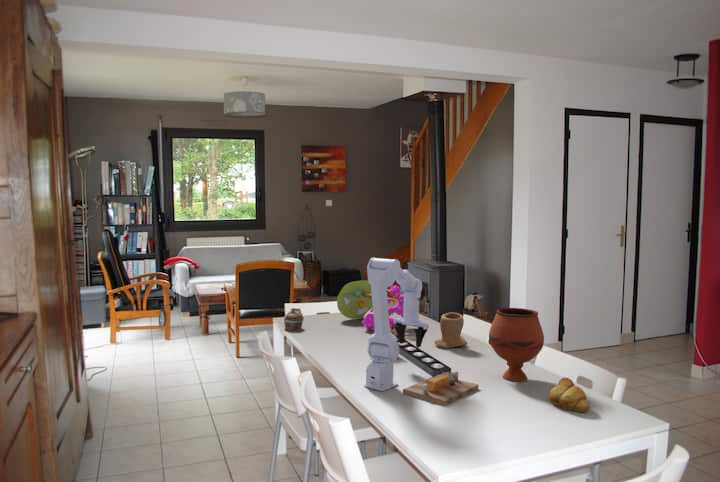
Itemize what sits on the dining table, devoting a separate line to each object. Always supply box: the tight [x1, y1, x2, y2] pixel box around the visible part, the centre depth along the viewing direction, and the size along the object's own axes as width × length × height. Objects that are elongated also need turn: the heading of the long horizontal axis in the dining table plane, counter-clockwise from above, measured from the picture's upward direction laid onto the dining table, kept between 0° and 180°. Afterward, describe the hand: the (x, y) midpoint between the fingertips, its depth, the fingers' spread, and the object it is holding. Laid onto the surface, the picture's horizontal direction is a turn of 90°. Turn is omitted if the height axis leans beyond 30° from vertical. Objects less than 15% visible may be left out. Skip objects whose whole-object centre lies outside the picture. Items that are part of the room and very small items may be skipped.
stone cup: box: [433, 312, 468, 349], centre depth 248 cm, size 15×12×15 cm
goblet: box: [488, 307, 545, 383], centre depth 203 cm, size 19×19×25 cm
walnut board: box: [402, 370, 479, 407], centre depth 188 cm, size 22×16×4 cm
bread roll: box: [548, 377, 590, 413], centre depth 176 cm, size 13×10×8 cm
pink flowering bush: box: [336, 279, 404, 331], centre depth 287 cm, size 30×28×35 cm
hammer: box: [426, 371, 455, 393], centre depth 188 cm, size 13×4×4 cm, turn 140°
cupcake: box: [283, 307, 305, 332], centre depth 275 cm, size 10×10×10 cm
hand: (410, 345), depth 211 cm, fingers open, 7 cm apart
